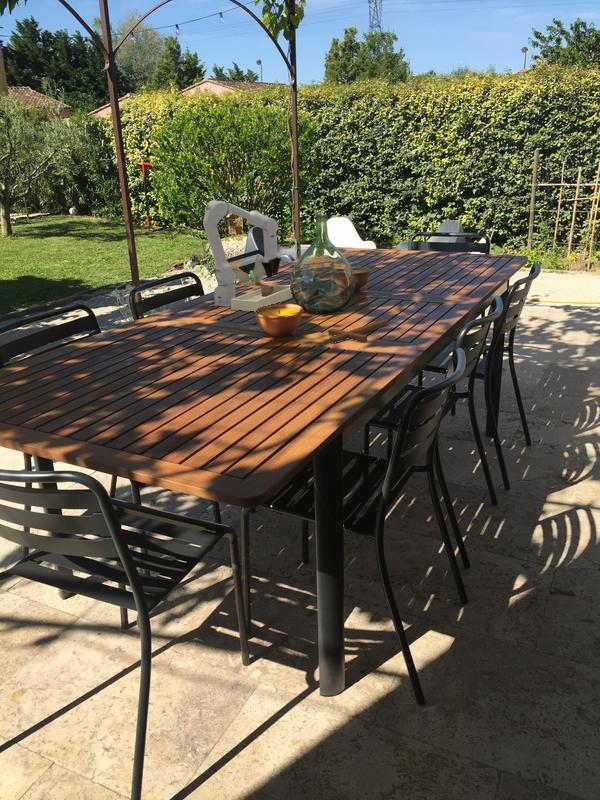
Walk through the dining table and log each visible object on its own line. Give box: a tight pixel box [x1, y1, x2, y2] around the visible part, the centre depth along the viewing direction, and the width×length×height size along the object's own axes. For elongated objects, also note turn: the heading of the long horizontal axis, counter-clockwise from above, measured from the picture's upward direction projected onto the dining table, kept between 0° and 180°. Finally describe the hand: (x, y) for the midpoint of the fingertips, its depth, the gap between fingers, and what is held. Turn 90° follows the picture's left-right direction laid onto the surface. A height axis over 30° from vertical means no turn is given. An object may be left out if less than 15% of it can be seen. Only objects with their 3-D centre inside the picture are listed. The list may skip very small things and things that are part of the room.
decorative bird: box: [229, 252, 266, 286], centre depth 321 cm, size 24×10×15 cm
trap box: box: [230, 284, 293, 313], centre depth 283 cm, size 32×13×4 cm, turn 150°
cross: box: [327, 319, 389, 344], centre depth 230 cm, size 16×2×30 cm
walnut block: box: [260, 285, 274, 297], centre depth 285 cm, size 4×4×4 cm
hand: (272, 275), depth 291 cm, fingers open, 7 cm apart
